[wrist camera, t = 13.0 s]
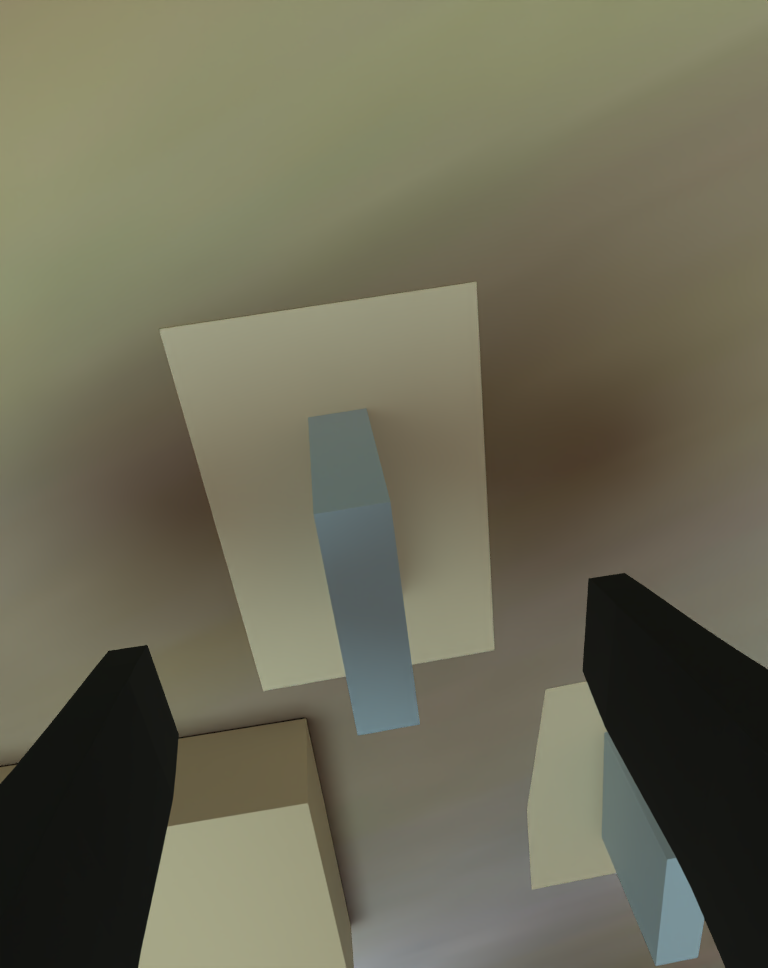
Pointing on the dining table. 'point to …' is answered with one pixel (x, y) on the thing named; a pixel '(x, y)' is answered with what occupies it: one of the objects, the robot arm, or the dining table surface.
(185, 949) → the panel
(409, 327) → the flap
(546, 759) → the flap
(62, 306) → the dining table surface
